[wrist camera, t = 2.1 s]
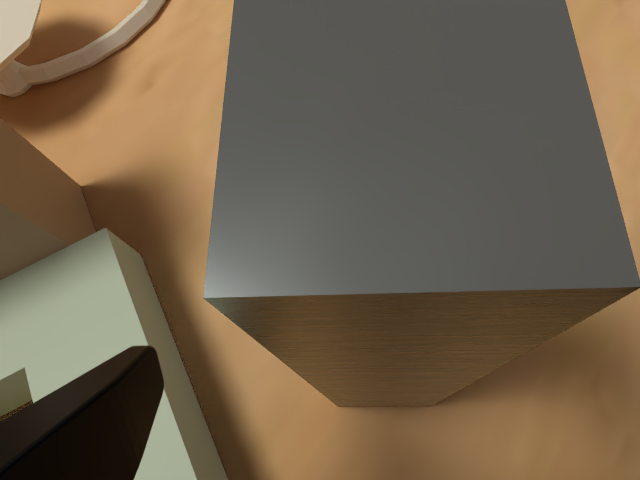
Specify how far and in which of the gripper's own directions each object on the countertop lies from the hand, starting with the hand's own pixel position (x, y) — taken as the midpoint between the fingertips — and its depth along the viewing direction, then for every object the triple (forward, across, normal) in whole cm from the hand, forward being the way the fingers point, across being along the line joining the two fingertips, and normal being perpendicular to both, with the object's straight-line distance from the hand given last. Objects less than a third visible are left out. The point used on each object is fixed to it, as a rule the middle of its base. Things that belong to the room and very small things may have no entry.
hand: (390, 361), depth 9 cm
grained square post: (+8, 0, +6) cm, 10 cm away
